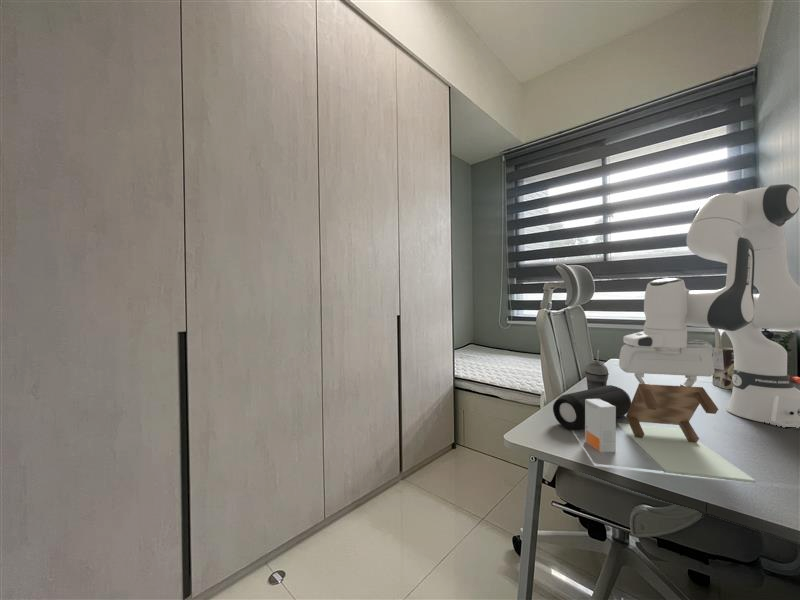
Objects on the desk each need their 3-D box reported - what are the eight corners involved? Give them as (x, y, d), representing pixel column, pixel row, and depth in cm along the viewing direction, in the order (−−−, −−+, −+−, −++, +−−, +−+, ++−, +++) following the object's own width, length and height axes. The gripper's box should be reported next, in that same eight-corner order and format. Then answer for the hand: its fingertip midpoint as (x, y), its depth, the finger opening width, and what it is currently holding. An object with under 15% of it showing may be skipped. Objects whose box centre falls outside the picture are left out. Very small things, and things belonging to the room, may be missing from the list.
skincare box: (584, 443, 84) (584, 398, 83) (599, 442, 84) (599, 398, 84) (600, 454, 78) (600, 407, 77) (616, 453, 78) (616, 406, 78)
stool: (683, 420, 87) (702, 387, 79) (696, 442, 82) (718, 409, 74) (625, 416, 91) (638, 383, 83) (634, 437, 85) (649, 404, 78)
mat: (679, 429, 91) (679, 428, 91) (755, 482, 66) (755, 480, 66) (616, 424, 95) (616, 423, 95) (665, 472, 70) (665, 470, 70)
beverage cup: (601, 401, 114) (601, 347, 114) (613, 409, 107) (613, 351, 107) (581, 401, 115) (580, 347, 115) (591, 408, 108) (591, 351, 107)
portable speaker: (580, 436, 88) (580, 401, 87) (550, 423, 97) (550, 391, 96) (634, 420, 98) (634, 388, 98) (602, 409, 107) (602, 380, 107)
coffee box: (724, 389, 126) (725, 349, 126) (711, 384, 133) (712, 346, 132) (751, 389, 125) (751, 349, 125) (736, 385, 131) (737, 347, 131)
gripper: (704, 338, 84) (703, 389, 84) (616, 336, 89) (616, 384, 89) (721, 342, 78) (720, 397, 78) (626, 339, 83) (626, 391, 83)
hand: (664, 390), depth 84 cm, fingers open, 8 cm apart
